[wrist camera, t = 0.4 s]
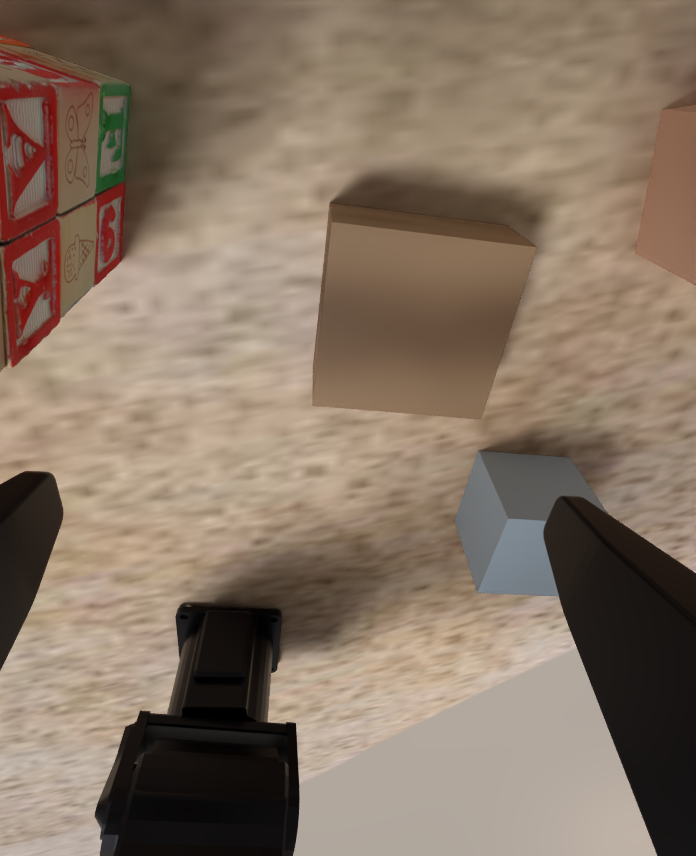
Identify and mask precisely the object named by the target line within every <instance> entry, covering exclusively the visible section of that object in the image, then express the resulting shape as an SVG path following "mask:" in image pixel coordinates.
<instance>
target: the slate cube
mask: <svg viewBox="0 0 696 856" xmlns="http://www.w3.org/2000/svg"><path fill="white" fill-rule="evenodd" d="M563 495H566V496H580V497H583V498H585V499H586V500H588V501H589V502H591V503H592V504H594V505H595V506H597V507H598V508H600V509H601V510H603V511H604V512H606V510H605V509H604V507H603V506H602V504H601V503H600V501H599V500H598V498H597V497H596V495H595V494H594V492H593V491H592V489H591V488H590V486H589V485H588V484H587V482H586V481H585V479H584V478H583V476H582V475H581V473H580V472H579V470H578V469H577V467H576V466H575V464H574V463H573V461H572V460H571V458H569V457H556V456H542V455H529V454H515V453H502V452H488V451H478V453H477V456H476V459H475V462H474V465H473V468H472V471H471V474H470V477H469V480H468V483H467V486H466V489H465V492H464V495H463V498H462V501H461V504H460V507H459V509H458V512H457V515H456V518H455V524H456V527H457V530H458V533H459V537H460V540H461V543H462V546H463V549H464V552H465V556H466V559H467V562H468V565H469V568H470V571H471V575H472V578H473V581H474V584H475V587H476V590H477V593H491V594H515V595H539V596H559V595H558V591H557V587H556V584H555V580H554V576H553V572H552V569H551V565H550V561H549V557H548V554H547V550H546V546H545V543H544V538H543V530H544V526H545V523H546V521H547V519H548V517H549V514H550V512H551V510H552V507H553V505H554V503H555V501H556V499H557V498H558V497H559V496H563ZM606 513H607V512H606ZM607 514H608V513H607Z"/></svg>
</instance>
